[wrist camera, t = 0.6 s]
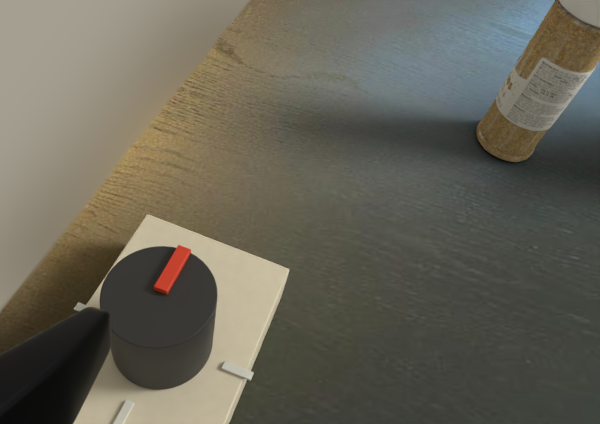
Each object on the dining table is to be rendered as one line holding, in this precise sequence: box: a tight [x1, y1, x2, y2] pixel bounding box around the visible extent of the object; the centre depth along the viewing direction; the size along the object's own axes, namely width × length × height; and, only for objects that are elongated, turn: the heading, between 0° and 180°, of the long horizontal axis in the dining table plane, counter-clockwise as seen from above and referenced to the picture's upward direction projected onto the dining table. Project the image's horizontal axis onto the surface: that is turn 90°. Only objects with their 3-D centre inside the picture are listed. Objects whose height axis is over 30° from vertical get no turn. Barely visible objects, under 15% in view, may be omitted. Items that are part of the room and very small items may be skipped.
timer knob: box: [100, 245, 218, 390], centre depth 23 cm, size 4×4×5 cm
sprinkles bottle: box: [477, 0, 600, 162], centre depth 36 cm, size 5×5×13 cm
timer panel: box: [73, 214, 289, 424], centre depth 26 cm, size 12×9×3 cm
